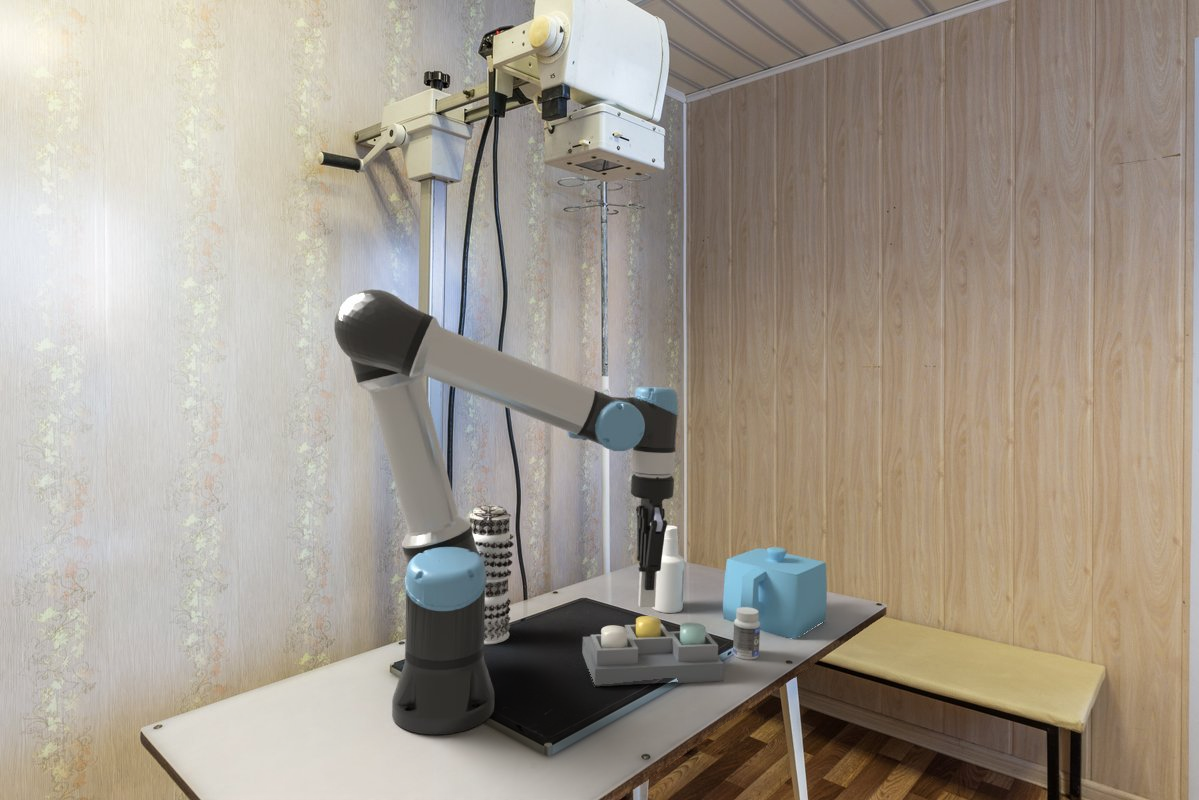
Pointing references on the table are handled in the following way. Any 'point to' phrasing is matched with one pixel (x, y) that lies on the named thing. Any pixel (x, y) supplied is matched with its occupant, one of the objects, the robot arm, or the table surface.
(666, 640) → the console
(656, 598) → the spray bottle
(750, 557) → the container
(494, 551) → the decorative candle
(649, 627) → the button mustard
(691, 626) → the button teal
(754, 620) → the pill bottle
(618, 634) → the button ivory
